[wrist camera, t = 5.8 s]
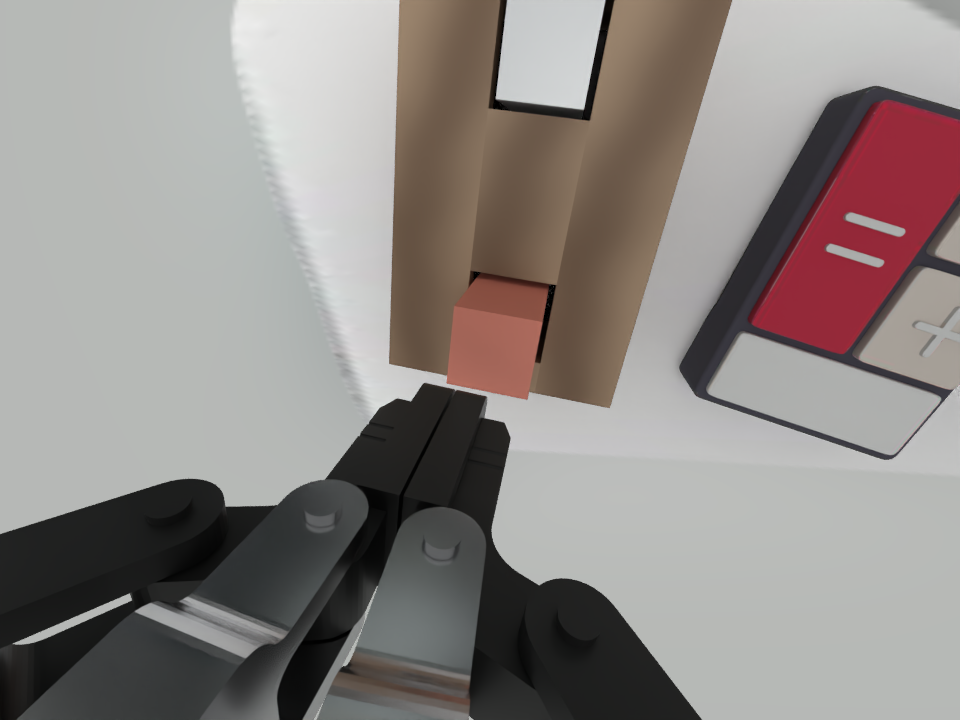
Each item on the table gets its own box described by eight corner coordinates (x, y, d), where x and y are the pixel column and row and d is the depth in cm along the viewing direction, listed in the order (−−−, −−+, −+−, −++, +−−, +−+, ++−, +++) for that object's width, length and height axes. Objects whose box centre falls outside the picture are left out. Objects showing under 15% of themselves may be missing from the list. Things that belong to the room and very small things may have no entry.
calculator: (1176, 163, 16) (902, 472, 22) (1055, 167, 20) (851, 429, 26) (882, 77, 16) (694, 402, 23) (821, 97, 20) (675, 370, 27)
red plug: (551, 273, 21) (542, 322, 15) (539, 333, 23) (527, 399, 16) (487, 263, 22) (454, 306, 15) (480, 322, 23) (446, 383, 17)
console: (693, 4, 19) (752, -70, 13) (600, 349, 27) (609, 408, 20) (454, -17, 20) (402, -93, 14) (429, 317, 28) (389, 363, 22)
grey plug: (595, 46, 20) (606, -5, 14) (580, 123, 22) (584, 109, 15) (527, 39, 20) (508, -14, 14) (517, 115, 22) (495, 98, 16)
